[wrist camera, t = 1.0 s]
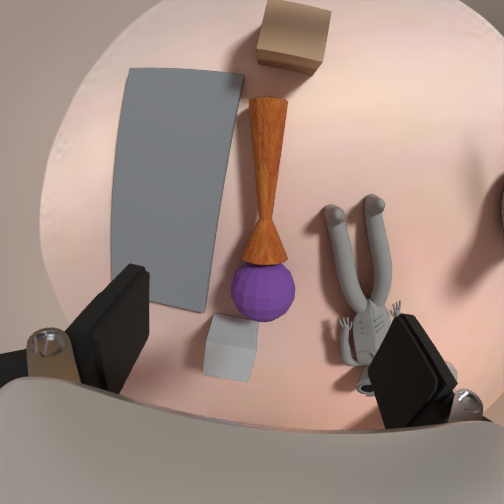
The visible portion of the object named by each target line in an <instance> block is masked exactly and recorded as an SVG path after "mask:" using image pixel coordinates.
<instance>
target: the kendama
mask: <svg viewBox="0 0 504 504" xmlns="http://www.w3.org/2000/svg"><path fill="white" fill-rule="evenodd" d="M287 105H288V101H286V100H284V99H280V98H273V97H260V98H253V99H250V100H249V109H250V119H251V130H252V141H253V152H254V163H255V174H256V186H257V197H258V209H259V220H258V222H257V224H256V226H255V228H254V230H253V232H252V234H251V236H250V238H249V240H248V242H247V245H246V247H245V249H244V251H243V253H242V255H241V258H242V259H243V260H244V261H246V263H245V264H244V265H243V266H242V267H240V268H239V269H238V270H237V272H236V274H235V276H234V279H233V281H232V284H231V297H232V299H233V302H234V304H235V306H236V308H237V309H238V311H239V312H240V313H241V314H243V315H244V316H246V317H247V318H249V319H250V320H253V321H257V322H269V321H273V320H275V319H277V318H279V317H280V316H282V315H284V314H285V313H286V312H287V310H288V309H289V307H290V306H291V304H292V302H293V300H294V295H295V285H294V281H293V278H292V275H291V273H290V271H289V270H288V269H287V268H286V267H285V266H284V265H283V264H282V263H283V262H285V261H286V260H287V259H288V258H287V255H286V252H285V250H284V247H283V245H282V242H281V240H280V238H279V235H278V233H277V230H276V228H275V225H274V223H273V221H272V214H273V207H274V200H275V193H276V186H277V179H278V172H279V164H280V157H281V150H282V143H283V135H284V128H285V120H286V113H287Z"/></svg>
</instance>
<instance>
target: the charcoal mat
mask: <svg viewBox="0 0 504 504" xmlns="http://www.w3.org/2000/svg"><path fill="white" fill-rule="evenodd" d="M243 81H244V75H242V74H235V73H227V72H218V71H208V70H195V69H178V68H130V69H129V74H128V79H127V84H126V89H125V94H124V99H123V105H122V111H121V117H120V124H119V131H118V139H117V147H116V156H115V167H114V179H113V194H112V217H111V265H112V281H113V280H114V278H115V277H116V276H117V275H118V274H119V273H120V272H121V271H122V270H123V269H124V268H125V267H126V266H127V265H128V264H130V263H131V264H135V265H140V266H144V267H145V269H146V271H148V272H149V273H150V284H149V301H153V302H157V303H162V304H166V305H170V306H175V307H179V308H183V309H188V310H193V311H197V312H202V313H204V312H205V309H206V303H207V295H208V288H209V280H210V273H211V266H212V259H213V252H214V245H215V238H216V232H217V225H218V219H219V212H220V206H221V200H222V194H223V188H224V182H225V176H226V170H227V164H228V159H229V153H230V148H231V142H232V137H233V131H234V126H235V121H236V116H237V111H238V106H239V101H240V96H241V91H242V86H243Z"/></svg>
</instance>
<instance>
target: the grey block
mask: <svg viewBox="0 0 504 504" xmlns="http://www.w3.org/2000/svg"><path fill="white" fill-rule="evenodd" d="M257 339H258V322H257V321H253V320H247V319H242V318H236V317H231V316H226V315H221V314H216V313H214V316H213V319H212V323H211V326H210V330H209V333H208V337H207V340H206V348H205V356H204V364H203V373H202V374H203V375H208V376H213V377H218V378H224V379H229V380H235V381H240V382H247V383H248V381H249V377H250V373H251V370H252V366H253V363H254V359H255V355H256V352H257Z"/></svg>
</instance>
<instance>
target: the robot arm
mask: <svg viewBox="0 0 504 504" xmlns="http://www.w3.org/2000/svg"><path fill="white" fill-rule="evenodd" d="M149 284H150V273H149V272H148V271H146V269H145V267H144V266H140V265H135V264H131V263H130V264H128V265H127V266H126V267H125V268H124V269H123V270H122V271H121V272H120V273H119V274H118V275H117V276H116V277H115V278H114V280H113V281H112V282H111V283H110V284H109V285H108V286H107V287H106V288H105V289H104V290H103V291H102V292H101V293H99V294H98V295H97V296H96V297H95V298H94V299H93V300H92V301H91V303H90V304H89V305H88V306H87V307H86V308H85V309H84V310H83V311H82V312H81V314H80V315H79V316H78V317H77V318H76V319H75V320H74V321H73V323H72V324H71V325H70V326H69V327H68V328H67V330H66V331H65V332H64V331H62V330H60V329H58V328H43V329H40V330H38V331H36V332H34V333H33V334H32V335H31V336H30V337H29V339H28V341H27V346H26V349H24V350H19V351H13V352H8V353H4V354H0V504H504V427H503V426H501V425H499V424H496V423H493V422H492V421H491V420H489V419H487V418H485V417H484V416H483V404H482V401H481V400H480V398H479V397H478V396H477V395H476V394H475V393H474V392H472V391H470V390H468V389H459V390H456V388H455V387H456V385H457V384H458V383H457V371H456V369H455V367H454V366H453V365H452V364H451V363H448V362H445V361H444V360H443V358H442V357H441V355H440V353H439V352H438V350H437V349H436V347H435V346H434V344H433V343H432V341H431V340H430V338H429V337H428V335H427V334H426V332H425V331H424V329H423V328H422V326H421V325H420V323H419V322H418V320H417V319H416V317H415V316H414V315H409V314H402V313H401V314H399V315H398V317H395V318H394V320H393V321H392V324H391V326H390V328H389V330H388V332H387V334H386V336H385V338H384V339H383V341H382V343H381V345H380V347H379V349H378V351H377V353H376V355H375V356H374V358H373V360H372V362H371V364H370V365H369V367H368V377H369V380H370V383H371V386H372V388H373V391H374V394H375V397H376V400H377V403H378V407H379V410H380V413H381V416H382V419H383V422H384V425H385V429H380V430H311V429H294V428H282V427H272V426H263V425H255V424H247V423H240V422H233V421H227V420H221V419H216V418H210V417H205V416H200V415H195V414H191V413H186V412H182V411H178V410H174V409H170V408H165V407H161V406H157V405H154V404H150V403H146V402H143V401H139V400H136V399H132V398H129V397H126V396H122V395H119V393H120V391H121V389H122V387H123V385H124V383H125V381H126V379H127V378H128V376H129V374H130V372H131V370H132V368H133V366H134V364H135V362H136V360H137V358H138V356H139V354H140V352H141V350H142V349H143V347H144V345H145V343H146V341H147V339H148V336H149Z"/></svg>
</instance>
